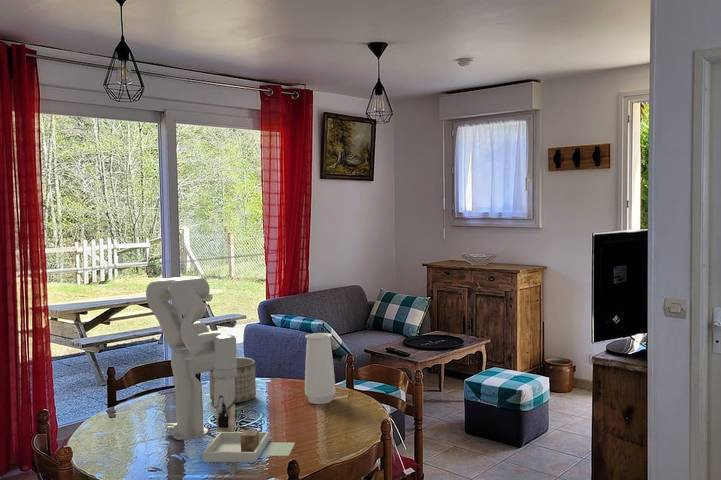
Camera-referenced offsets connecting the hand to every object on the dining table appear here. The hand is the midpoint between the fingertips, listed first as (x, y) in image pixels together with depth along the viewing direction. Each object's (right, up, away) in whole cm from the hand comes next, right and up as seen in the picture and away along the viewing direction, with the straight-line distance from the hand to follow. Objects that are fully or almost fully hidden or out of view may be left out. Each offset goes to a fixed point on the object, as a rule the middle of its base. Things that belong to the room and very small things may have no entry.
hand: (225, 423), depth 221 cm
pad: (+18, -9, 0) cm, 20 cm away
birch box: (0, -2, 0) cm, 2 cm away
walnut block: (+8, -9, -1) cm, 12 cm away
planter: (-9, -7, +60) cm, 61 cm away
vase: (+29, -6, +56) cm, 63 cm away
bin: (+4, -9, -1) cm, 10 cm away
